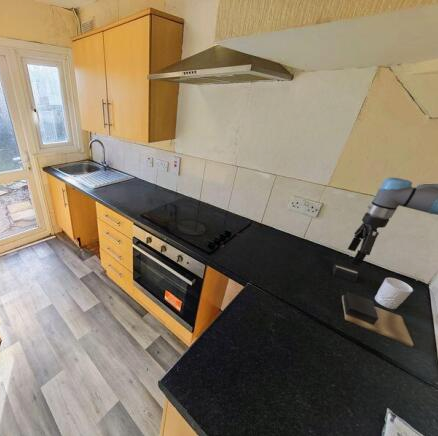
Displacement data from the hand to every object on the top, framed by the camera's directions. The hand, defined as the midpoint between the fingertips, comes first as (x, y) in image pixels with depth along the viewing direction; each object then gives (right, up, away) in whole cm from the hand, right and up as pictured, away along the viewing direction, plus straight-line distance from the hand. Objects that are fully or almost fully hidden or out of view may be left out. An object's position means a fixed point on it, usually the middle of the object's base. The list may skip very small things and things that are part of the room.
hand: (353, 257), depth 103 cm
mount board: (-8, -20, -18) cm, 28 cm away
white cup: (+4, -17, -10) cm, 20 cm away
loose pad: (0, -9, +5) cm, 11 cm away
